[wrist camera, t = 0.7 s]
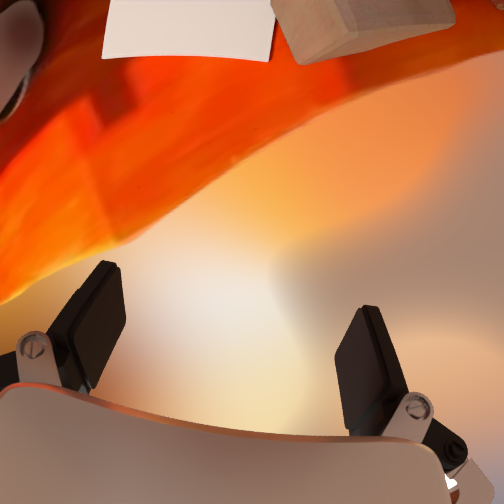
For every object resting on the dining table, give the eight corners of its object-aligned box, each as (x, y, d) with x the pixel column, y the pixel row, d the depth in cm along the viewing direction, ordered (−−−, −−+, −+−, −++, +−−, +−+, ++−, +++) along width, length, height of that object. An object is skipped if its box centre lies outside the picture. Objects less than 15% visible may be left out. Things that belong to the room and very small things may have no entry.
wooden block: (340, -14, 25) (409, -81, 8) (368, 51, 30) (465, 27, 12) (266, 0, 27) (284, -81, 9) (296, 68, 31) (347, 37, 14)
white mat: (117, -21, 25) (115, -22, 24) (282, -24, 25) (282, -26, 25) (103, 59, 31) (101, 58, 31) (268, 62, 32) (268, 61, 31)
